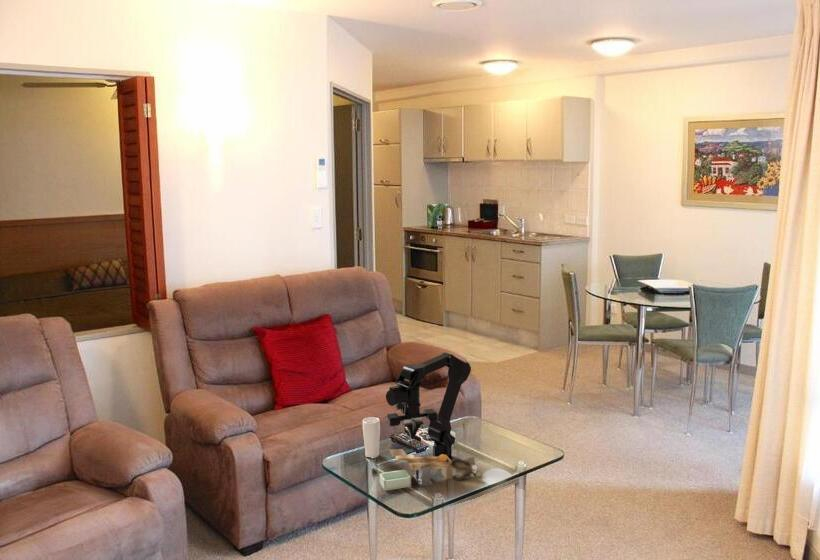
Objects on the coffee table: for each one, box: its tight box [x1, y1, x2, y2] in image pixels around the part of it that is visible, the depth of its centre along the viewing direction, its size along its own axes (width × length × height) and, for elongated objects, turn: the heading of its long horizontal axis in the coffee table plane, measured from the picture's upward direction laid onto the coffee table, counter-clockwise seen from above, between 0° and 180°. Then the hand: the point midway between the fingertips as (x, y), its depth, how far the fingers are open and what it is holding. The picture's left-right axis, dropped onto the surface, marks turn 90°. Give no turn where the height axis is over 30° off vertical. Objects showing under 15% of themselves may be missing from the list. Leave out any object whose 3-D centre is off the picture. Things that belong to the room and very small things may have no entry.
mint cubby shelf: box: [378, 469, 412, 492], centre depth 264 cm, size 10×7×4 cm
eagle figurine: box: [451, 458, 479, 481], centre depth 269 cm, size 8×7×9 cm
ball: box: [438, 454, 447, 462], centre depth 268 cm, size 3×3×3 cm
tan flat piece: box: [389, 448, 453, 471], centre depth 270 cm, size 20×14×3 cm
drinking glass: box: [362, 416, 381, 459], centre depth 286 cm, size 7×7×15 cm
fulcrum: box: [412, 465, 454, 488], centre depth 268 cm, size 13×9×7 cm
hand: (412, 438), depth 274 cm, fingers closed
